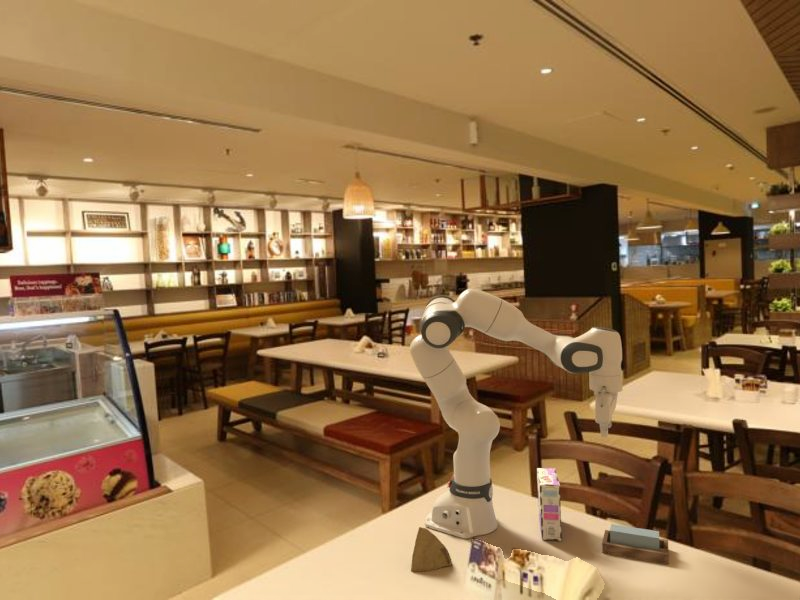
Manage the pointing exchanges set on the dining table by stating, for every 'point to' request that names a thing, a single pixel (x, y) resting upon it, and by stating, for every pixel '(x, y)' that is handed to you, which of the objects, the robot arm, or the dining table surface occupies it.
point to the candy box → (549, 504)
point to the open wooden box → (636, 550)
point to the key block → (635, 537)
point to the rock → (429, 552)
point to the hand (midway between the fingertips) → (606, 431)
